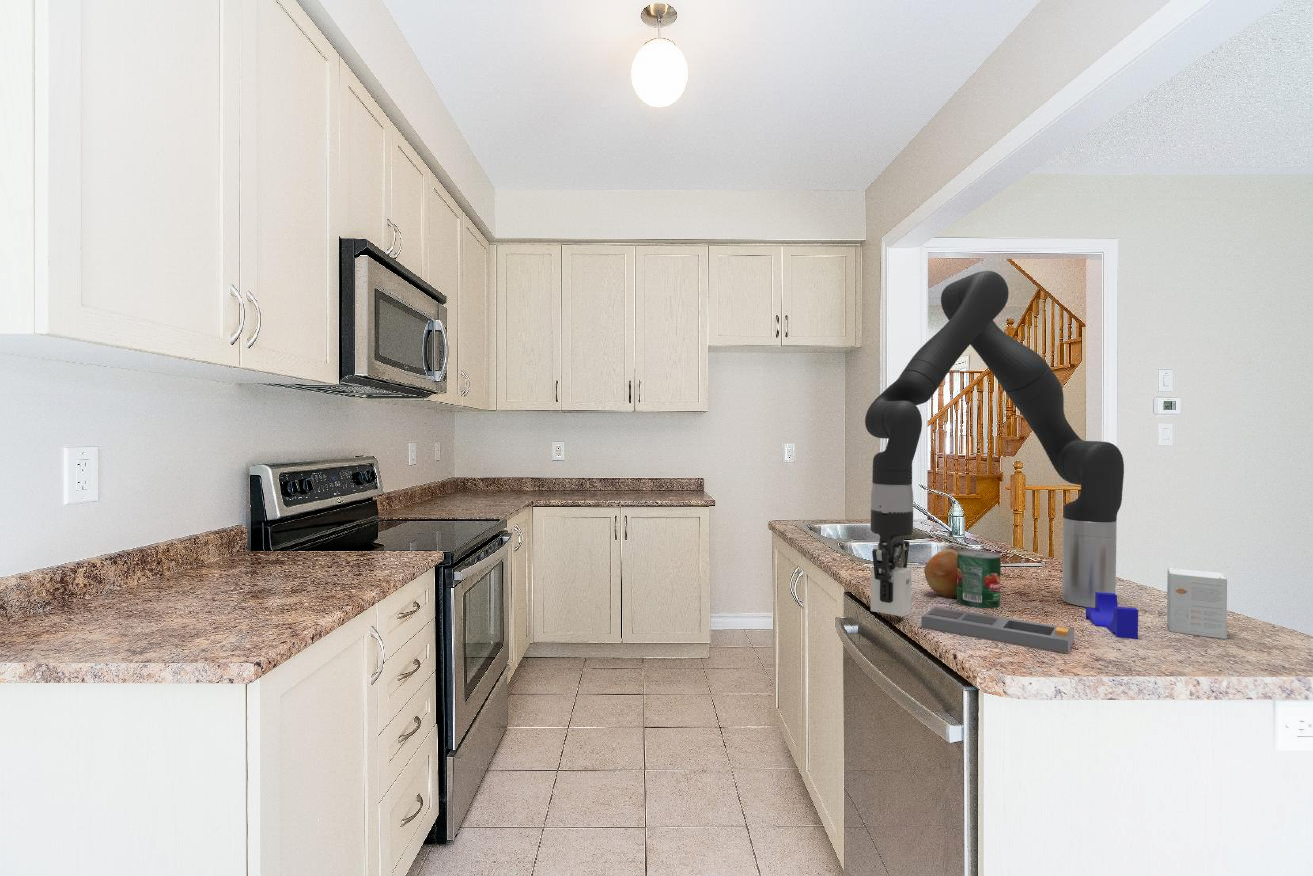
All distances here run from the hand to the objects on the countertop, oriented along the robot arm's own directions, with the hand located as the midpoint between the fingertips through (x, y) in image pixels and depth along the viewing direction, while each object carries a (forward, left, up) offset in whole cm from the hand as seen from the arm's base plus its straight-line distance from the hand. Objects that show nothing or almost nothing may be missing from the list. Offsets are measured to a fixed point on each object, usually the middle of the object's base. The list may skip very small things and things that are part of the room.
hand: (890, 598), depth 126 cm
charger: (0, 0, -2) cm, 2 cm away
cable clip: (-16, +33, -4) cm, 37 cm away
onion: (-25, +4, -4) cm, 26 cm away
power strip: (+1, +18, -4) cm, 18 cm away
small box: (-26, +45, -4) cm, 52 cm away
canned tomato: (-19, +11, -4) cm, 22 cm away
